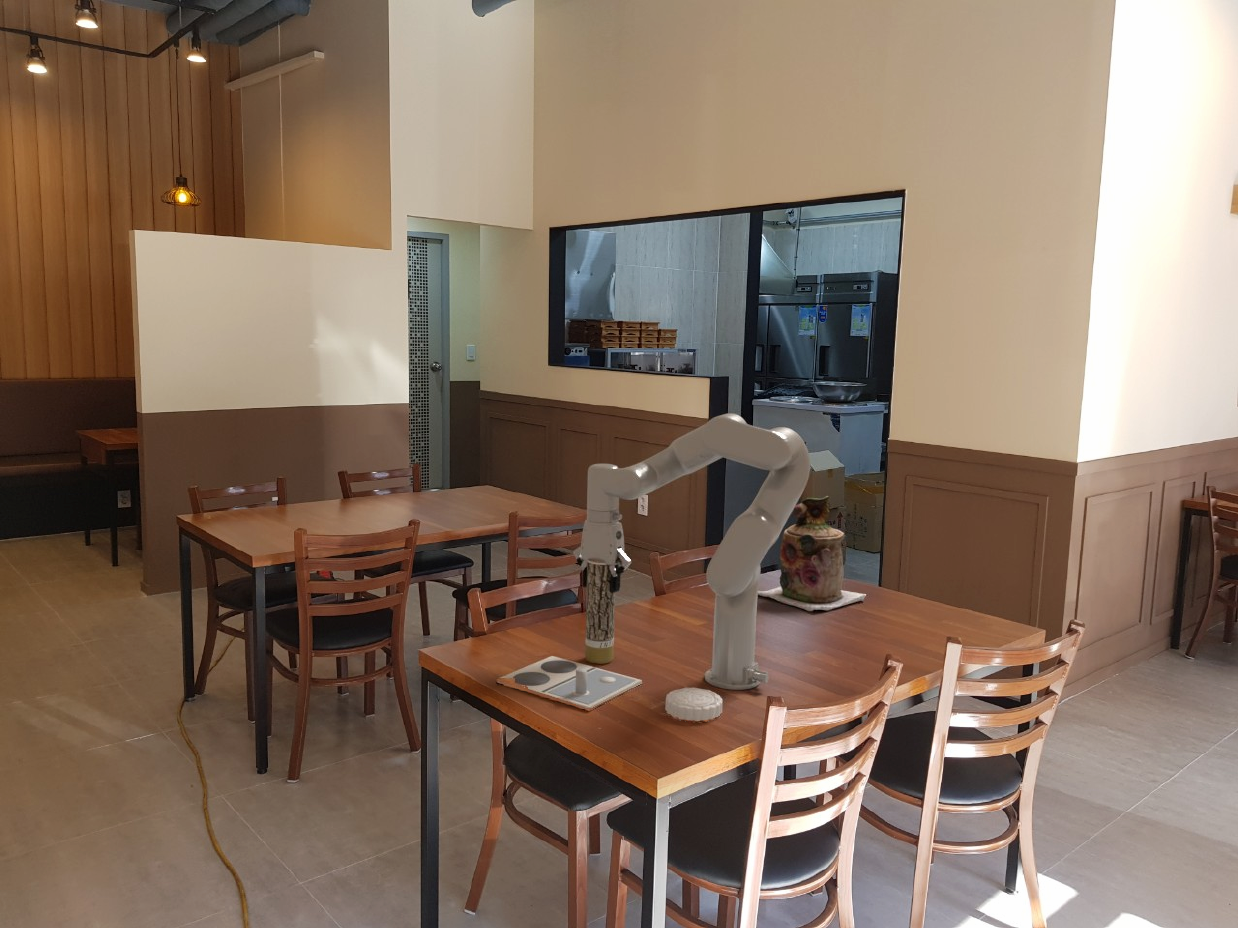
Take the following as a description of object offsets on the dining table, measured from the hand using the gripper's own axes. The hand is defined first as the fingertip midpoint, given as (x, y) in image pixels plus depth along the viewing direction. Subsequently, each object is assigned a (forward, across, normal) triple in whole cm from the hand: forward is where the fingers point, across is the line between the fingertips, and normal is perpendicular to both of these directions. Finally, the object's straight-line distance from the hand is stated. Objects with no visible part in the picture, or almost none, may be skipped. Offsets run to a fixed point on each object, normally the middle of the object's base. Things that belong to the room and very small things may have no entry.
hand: (600, 588), depth 230 cm
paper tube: (+18, 0, 0) cm, 18 cm away
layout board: (+18, -4, +17) cm, 25 cm away
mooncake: (+18, -34, +13) cm, 41 cm away
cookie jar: (+18, -18, -85) cm, 89 cm away
